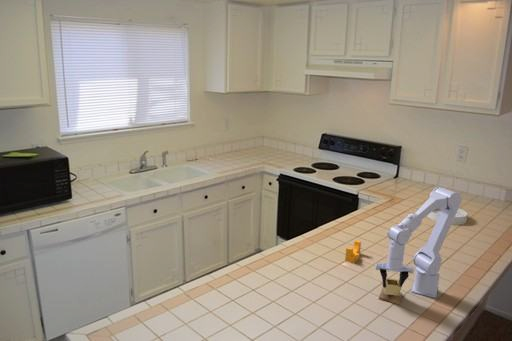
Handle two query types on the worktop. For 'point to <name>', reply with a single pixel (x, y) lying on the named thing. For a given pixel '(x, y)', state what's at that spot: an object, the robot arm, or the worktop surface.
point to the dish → (458, 220)
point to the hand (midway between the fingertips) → (391, 287)
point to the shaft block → (390, 297)
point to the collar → (392, 287)
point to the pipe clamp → (353, 252)
